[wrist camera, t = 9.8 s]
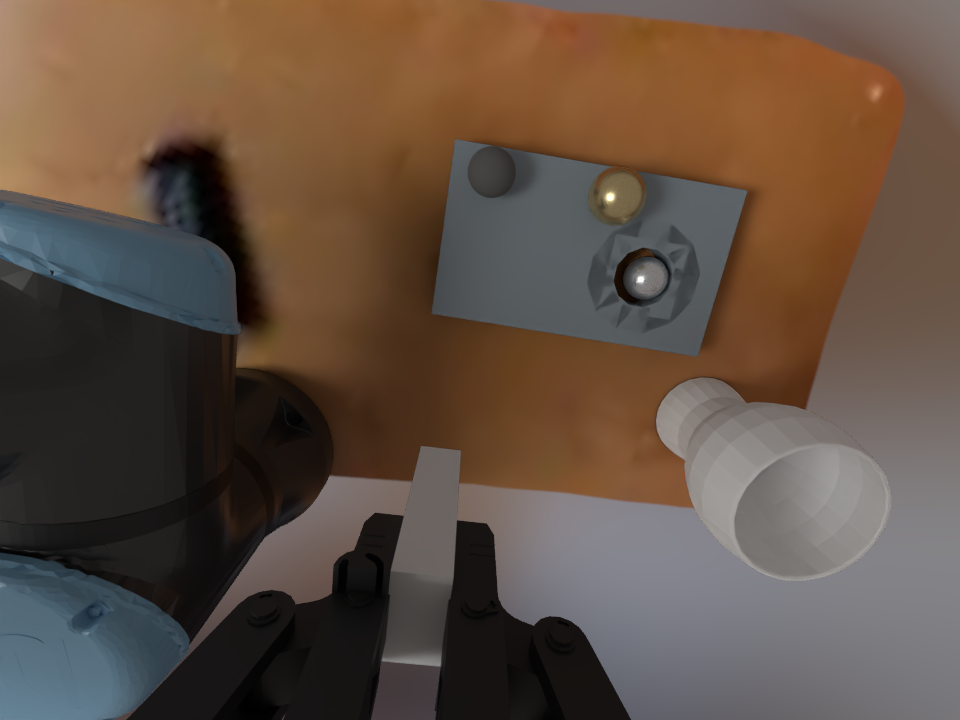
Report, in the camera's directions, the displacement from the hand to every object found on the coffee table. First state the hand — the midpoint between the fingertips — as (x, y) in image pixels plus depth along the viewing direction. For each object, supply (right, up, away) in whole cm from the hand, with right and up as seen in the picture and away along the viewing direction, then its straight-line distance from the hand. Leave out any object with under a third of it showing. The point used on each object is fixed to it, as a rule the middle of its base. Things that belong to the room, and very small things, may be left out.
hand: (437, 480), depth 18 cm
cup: (+21, -1, +25) cm, 33 cm away
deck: (+10, +13, +21) cm, 27 cm away
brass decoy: (+11, +16, +15) cm, 25 cm away
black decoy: (+2, +18, +15) cm, 24 cm away
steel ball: (+15, +11, +20) cm, 27 cm away
